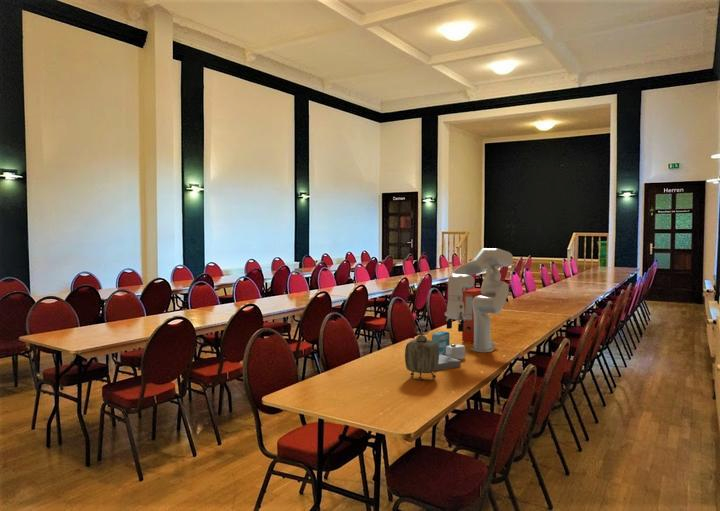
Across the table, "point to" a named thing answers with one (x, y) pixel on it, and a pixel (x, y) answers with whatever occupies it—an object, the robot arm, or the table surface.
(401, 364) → the table surface
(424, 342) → the tabletop clock
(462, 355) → the block
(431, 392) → the table surface
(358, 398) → the table surface
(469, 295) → the file binder
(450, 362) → the grey square tray
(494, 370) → the table surface
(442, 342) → the data package
